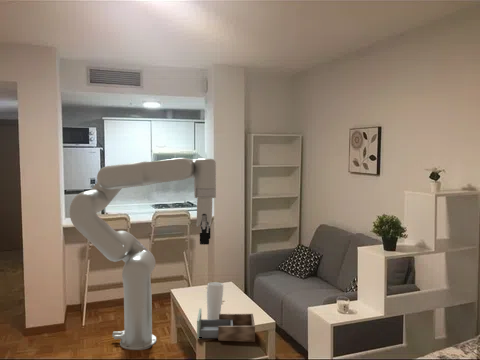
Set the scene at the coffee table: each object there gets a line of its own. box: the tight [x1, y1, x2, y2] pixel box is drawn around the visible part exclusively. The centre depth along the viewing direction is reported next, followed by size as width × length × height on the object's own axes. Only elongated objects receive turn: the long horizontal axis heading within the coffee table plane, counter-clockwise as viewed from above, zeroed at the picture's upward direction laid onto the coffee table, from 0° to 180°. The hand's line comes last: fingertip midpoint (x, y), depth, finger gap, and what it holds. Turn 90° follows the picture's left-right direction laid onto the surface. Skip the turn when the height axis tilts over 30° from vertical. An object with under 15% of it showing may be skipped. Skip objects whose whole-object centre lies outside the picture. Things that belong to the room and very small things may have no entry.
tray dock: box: [217, 313, 256, 343], centre depth 154 cm, size 14×12×6 cm
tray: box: [196, 307, 233, 339], centre depth 153 cm, size 13×12×7 cm
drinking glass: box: [206, 281, 224, 319], centre depth 169 cm, size 7×7×15 cm
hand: (205, 241), depth 142 cm, fingers open, 9 cm apart
